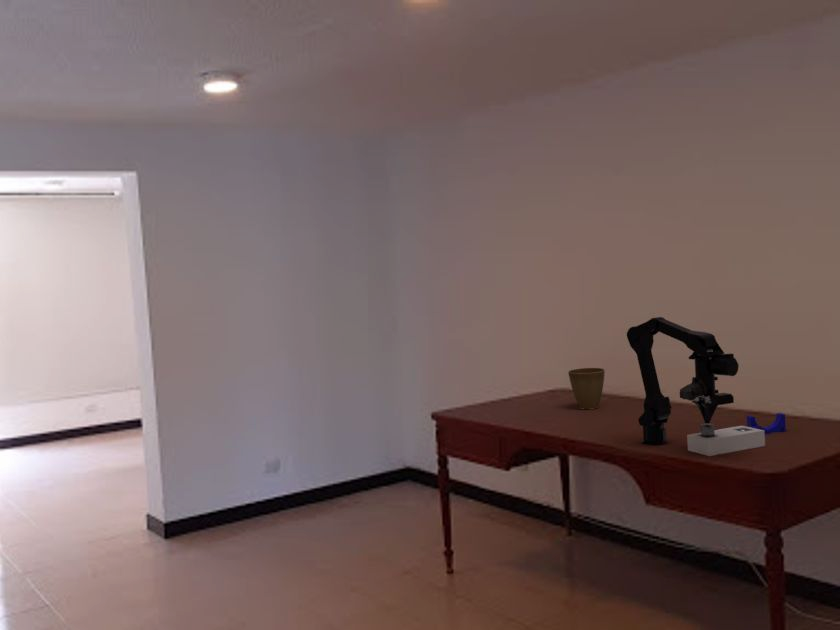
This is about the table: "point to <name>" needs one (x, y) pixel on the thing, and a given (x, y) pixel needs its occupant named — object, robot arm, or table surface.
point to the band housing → (726, 441)
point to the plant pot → (587, 386)
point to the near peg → (707, 430)
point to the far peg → (743, 429)
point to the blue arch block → (775, 427)
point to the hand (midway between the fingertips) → (707, 423)
